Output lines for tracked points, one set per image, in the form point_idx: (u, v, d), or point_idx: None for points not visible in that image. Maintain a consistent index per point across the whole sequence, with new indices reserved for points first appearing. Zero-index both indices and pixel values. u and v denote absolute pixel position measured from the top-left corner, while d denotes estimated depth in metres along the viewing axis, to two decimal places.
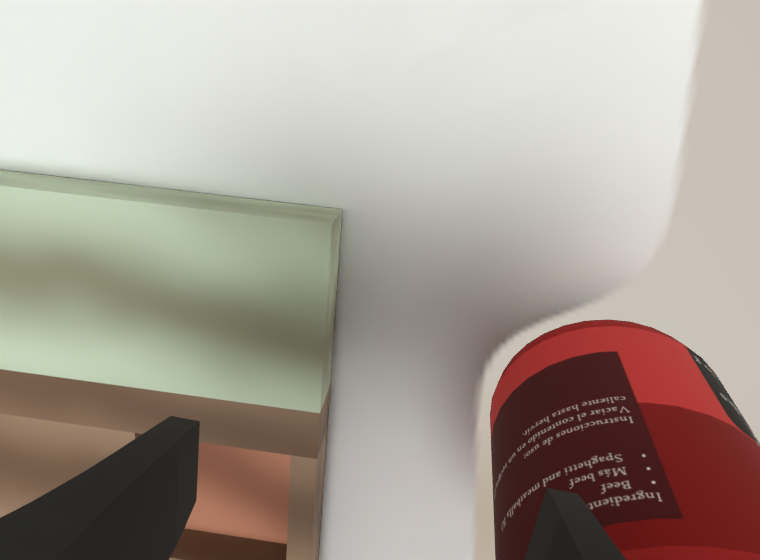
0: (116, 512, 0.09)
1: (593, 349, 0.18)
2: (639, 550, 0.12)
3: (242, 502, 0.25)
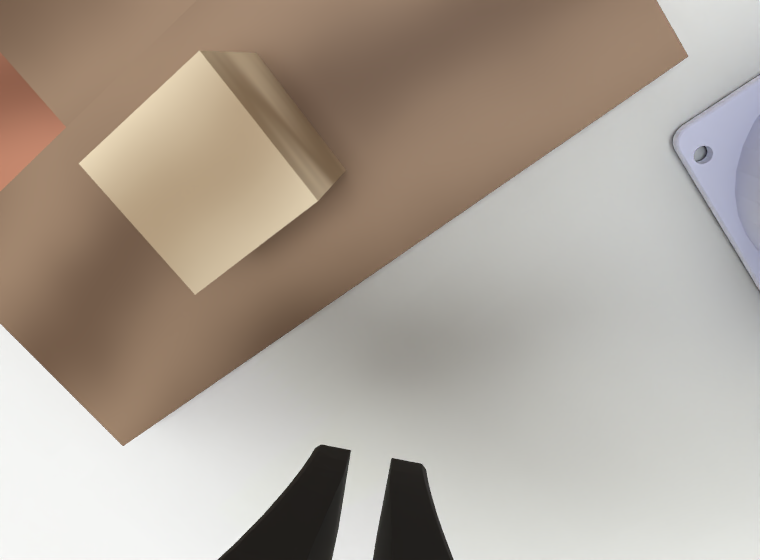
0: (313, 551, 0.09)
1: None
2: None
3: None
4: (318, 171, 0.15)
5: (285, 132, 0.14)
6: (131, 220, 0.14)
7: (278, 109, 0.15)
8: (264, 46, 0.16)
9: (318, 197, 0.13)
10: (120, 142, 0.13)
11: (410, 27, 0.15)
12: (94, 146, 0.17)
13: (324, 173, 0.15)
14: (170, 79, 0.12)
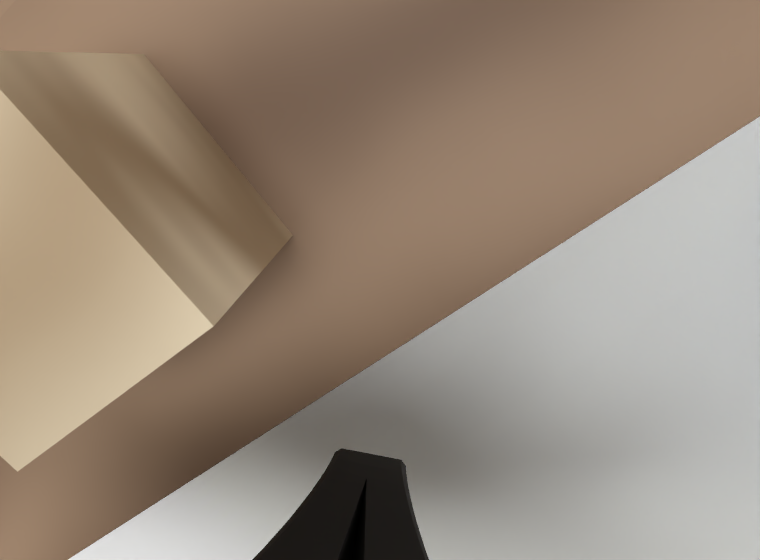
0: (340, 557, 0.09)
1: None
2: None
3: None
4: (232, 255, 0.09)
5: (167, 193, 0.08)
6: None
7: (164, 149, 0.09)
8: (155, 43, 0.10)
9: (216, 316, 0.07)
10: None
11: (389, 10, 0.09)
12: None
13: (244, 255, 0.09)
14: None
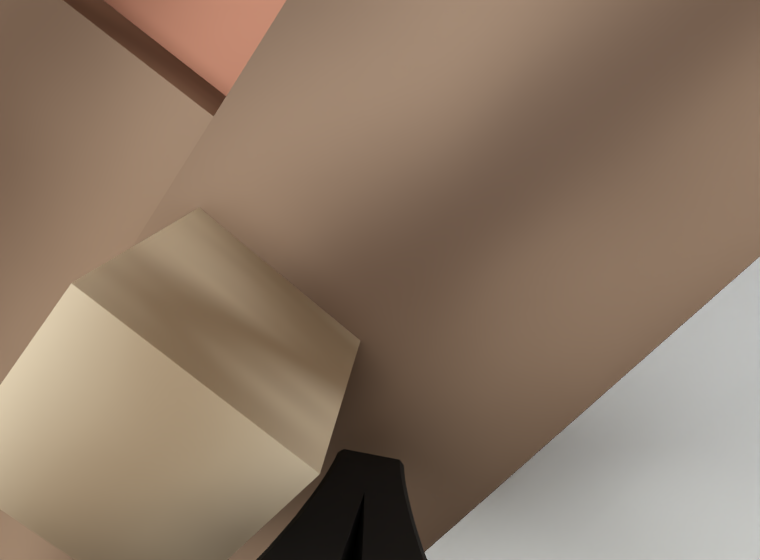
0: (343, 557, 0.09)
1: None
2: None
3: None
4: (316, 389, 0.09)
5: (252, 348, 0.09)
6: (41, 534, 0.09)
7: (238, 302, 0.09)
8: None
9: (320, 462, 0.08)
10: None
11: (455, 183, 0.10)
12: None
13: (327, 383, 0.10)
14: (38, 334, 0.07)
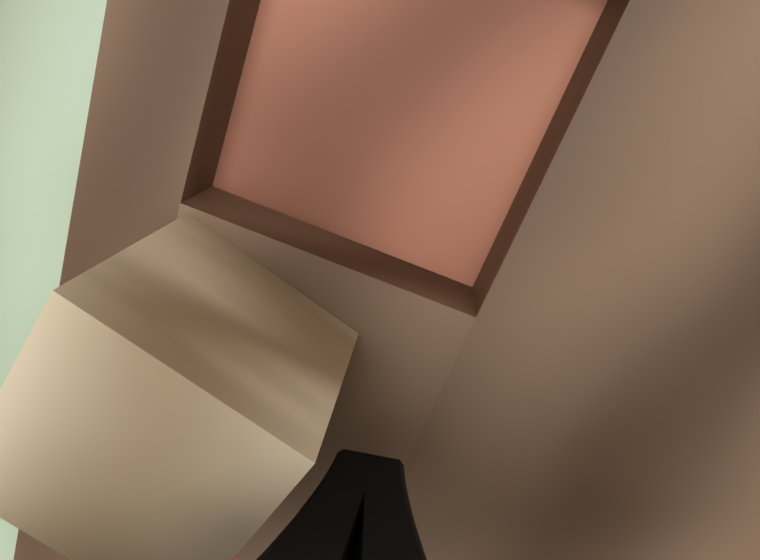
0: (343, 557, 0.09)
1: None
2: None
3: (456, 88, 0.11)
4: (312, 382, 0.09)
5: (241, 345, 0.09)
6: (50, 545, 0.09)
7: (228, 301, 0.09)
8: (533, 423, 0.12)
9: (315, 452, 0.08)
10: None
11: (722, 317, 0.11)
12: None
13: (323, 376, 0.09)
14: (26, 344, 0.08)
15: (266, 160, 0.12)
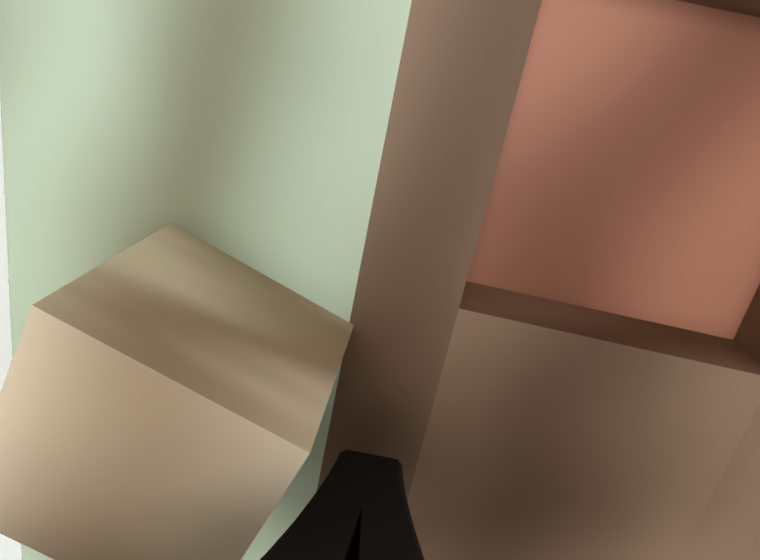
0: (346, 558, 0.09)
1: None
2: None
3: (712, 150, 0.11)
4: (304, 374, 0.09)
5: (231, 344, 0.09)
6: None
7: (215, 304, 0.09)
8: None
9: (309, 442, 0.08)
10: None
11: None
12: None
13: (316, 368, 0.09)
14: (13, 361, 0.08)
15: (512, 247, 0.12)
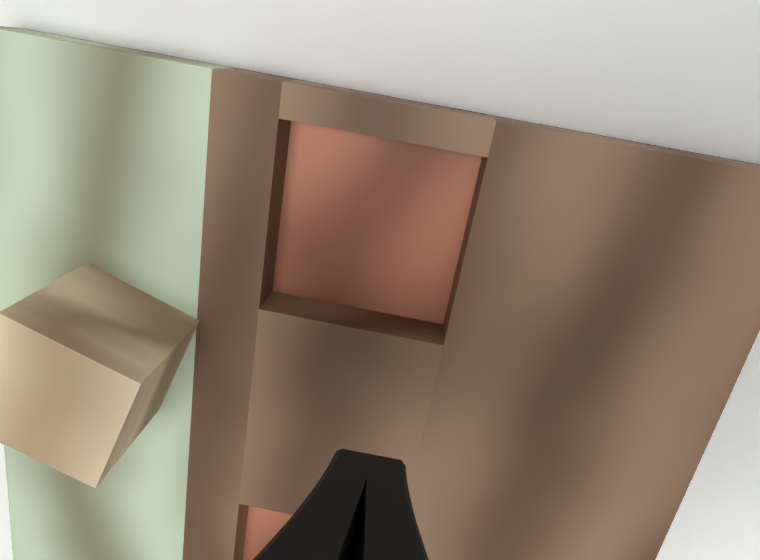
0: (340, 557, 0.09)
1: None
2: None
3: (407, 211, 0.19)
4: (152, 347, 0.17)
5: (108, 331, 0.16)
6: (21, 451, 0.16)
7: (105, 310, 0.17)
8: (493, 403, 0.19)
9: (142, 379, 0.15)
10: None
11: (587, 321, 0.18)
12: (424, 536, 0.21)
13: (161, 344, 0.17)
14: None
15: (302, 270, 0.20)
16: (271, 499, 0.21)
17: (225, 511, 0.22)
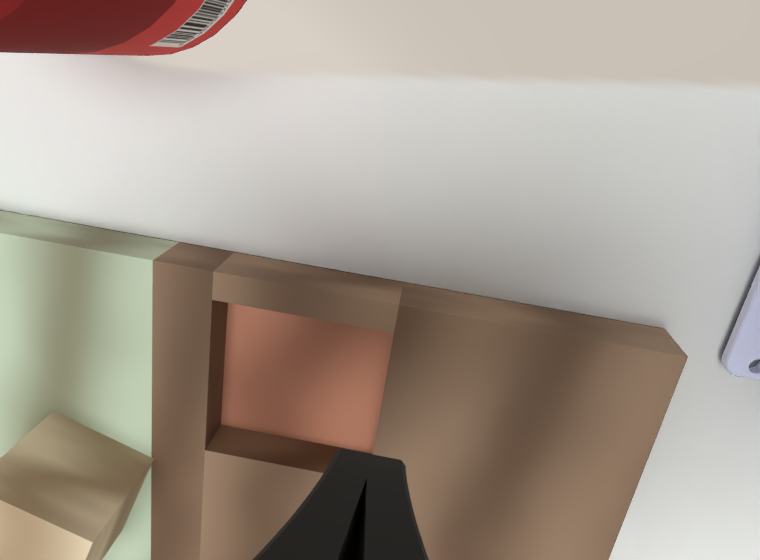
0: (340, 557, 0.09)
1: None
2: None
3: (335, 361, 0.21)
4: (106, 498, 0.19)
5: (67, 488, 0.19)
6: None
7: (66, 463, 0.20)
8: None
9: (95, 536, 0.18)
10: None
11: (491, 464, 0.20)
12: None
13: (115, 493, 0.19)
14: None
15: (246, 408, 0.22)
16: None
17: None
